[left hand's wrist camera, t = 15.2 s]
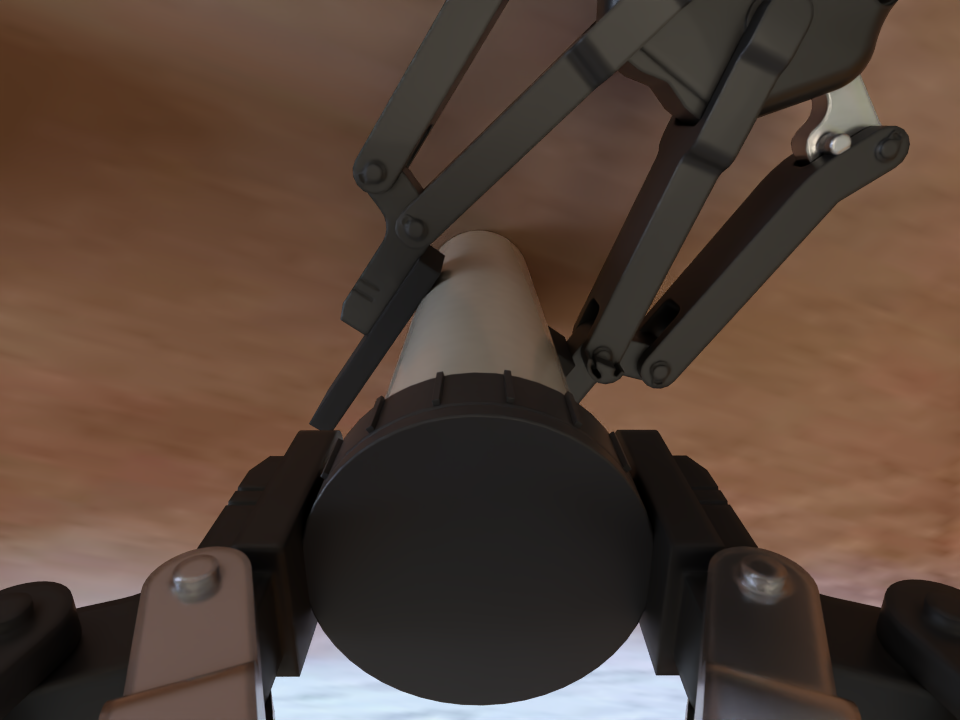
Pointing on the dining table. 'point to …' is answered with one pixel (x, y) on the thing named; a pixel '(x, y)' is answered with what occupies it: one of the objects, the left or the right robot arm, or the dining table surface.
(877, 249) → the dining table surface
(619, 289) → the right robot arm
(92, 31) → the dining table surface
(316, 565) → the lid
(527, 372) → the beige cylinder
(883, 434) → the dining table surface
